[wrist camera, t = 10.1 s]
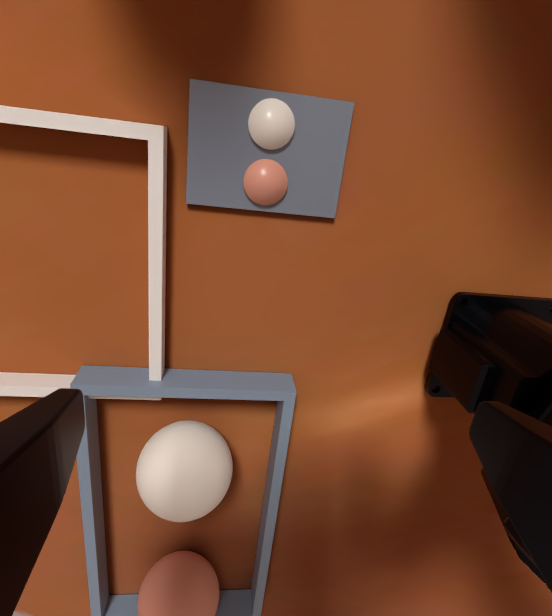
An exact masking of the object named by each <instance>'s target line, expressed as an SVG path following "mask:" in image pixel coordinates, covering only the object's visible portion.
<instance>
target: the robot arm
mask: <svg viewBox="0 0 552 616" xmlns="http://www.w3.org/2000/svg"><path fill="white" fill-rule="evenodd" d="M462 299H464V302H463V303H462V304H460V305H459V302H460V301H461V300H462ZM551 307H552V299H551V298H538V297H525V296H511V295H498V294H484V293H471V292H458V293H456V294H455V295H454V296H453V297H452V299H451V302H450V305H449V309H448V312H447V315H446V319H445V322H444V325H443V329H442V330H441V331H440V334H439V338H438V341H437V344H436V348H435V351H434V354H433V358H432V361H431V364H430V372H429V375H428V379H427V382H426V385H425V389H426V391H427V392H428V393H429V395H431V396H434V397H455V398H456V399H457V400H458V401H459V402H460V404H461V405H462V406H463V407H464V408H465V409H466V410H467V412H469V413H474V414H475V415H474V418H473V421H472V423H471V426H470V430H469V434H470V439H471V441H472V443H473V446H474V448H475V450H476V452H477V454H478V457H479V459H480V461H481V463H482V465H483V469H482V470H481V474H482V476H483V478H484V481H485V483H486V485H487V488H488V490H489V493H490V495H491V497H492V500H493V502H494V504H495V507H496V509H497V512H498V514H499V516H500V519H501V521H502V523H503V526H504V528H505V531H506V533H507V535H508V538H509V540H510V541H511V543H512V545H513V547H514V549H515V550H516V552H517V554H518V556H519V558H520V559H521V560H522V561H523V562H524V563H525V564H526V565H528V567H529V568H530V569H531V570H532V571H533V572H534V573H535V574H536V575H537V576H538V577H539V578H540V579H541V580H542V581H543V582H544V583H546V585H547V587H548V588H549V589H550V590H551V592H552V309H551V310H550V308H551ZM435 386H437V387H436V388H435V389H433V388H434V387H435ZM84 429H85V412H84V400H83V393H82V391H81V390H80V389H72V388H60V389H58V390H56V391H54V392H52V393H50V394H49V395H47V396H45V397H43V398H42V399H40V400H38V401H36V402H35V403H33V404H31V405H29V406H28V407H26V408H24V409H22V410H21V411H19V412H17V413H15V414H14V415H12V416H10V417H8V418H7V419H5V420H3V421H1V422H0V616H12V615H13V612H14V610H15V608H16V606H17V603H18V601H19V599H20V597H21V594H22V592H23V590H24V588H25V585H26V583H27V581H28V579H29V576H30V574H31V572H32V569H33V567H34V565H35V563H36V560H37V558H38V556H39V554H40V551H41V549H42V547H43V545H44V542H45V540H46V538H47V536H48V533H49V531H50V529H51V527H52V524H53V522H54V520H55V518H56V515H57V513H58V510H59V508H60V506H61V503H62V500H63V497H64V494H65V492H66V488H67V485H68V482H69V479H70V476H71V472H72V469H73V466H74V463H75V460H76V456H77V453H78V450H79V447H80V444H81V440H82V437H83V434H84Z"/></svg>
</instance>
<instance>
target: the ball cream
mask: <svg viewBox="0 0 552 616" xmlns="http://www.w3.org/2000/svg"><path fill="white" fill-rule="evenodd" d="M232 473H233V462H232V456H231V452H230V449H229V447H228V445H227V443H226V441H225V439H224V438H223V437H222V436H221V434H220V433H219V432H217V431H216V430H215V429H214V428H212V427H211V426H209V425H207V424H205V423H202V422H198V421H191V420H185V421H178V422H174V423H172V424H169V425H167V426H165V427H163V428H162V429H160V430H159V431H158V432H156V433H155V434H154V435H153V436H152V437H151V438H150V439H149V440H148V442H147V443H146V445H145V446H144V448H143V450H142V452H141V454H140V456H139V459H138V463H137V468H136V483H137V488H138V491H139V494H140V496H141V498H142V500H143V502H144V503H145V505H146V506H147V507H148V508H149V509H150V510H151V511H152V512H153V513H154V514H156V515H157V516H159V517H160V518H163V519H165V520H168V521H173V522H188V521H192V520H196V519H199V518H201V517H203V516H205V515H206V514H208V513H209V512H211V511H212V510H213V509H214V508H215V507H216V506H217V505H218V504H219V503H220V502H221V501H222V499H223V498H224V496H225V494H226V492H227V491H228V488H229V485H230V483H231V478H232Z"/></svg>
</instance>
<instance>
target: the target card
mask: <svg viewBox="0 0 552 616" xmlns="http://www.w3.org/2000/svg"><path fill="white" fill-rule="evenodd" d="M353 108H354V102H348V101H341V100H334V99H327V98H320V97H313V96H306V95H300V94H293V93H286V92H279V91H272V90H265V89H258V88H251V87H244V86H237V85H231V84H224V83H217V82H210V81H203V80H196V79H190V88H189V122H188V155H187V188H186V204H196V205H206V206H216V207H226V208H236V209H246V210H256V211H266V212H276V213H286V214H296V215H307V216H317V217H327V218H335V214H336V209H337V203H338V197H339V191H340V185H341V179H342V173H343V167H344V161H345V155H346V150H347V144H348V138H349V132H350V126H351V120H352V114H353Z"/></svg>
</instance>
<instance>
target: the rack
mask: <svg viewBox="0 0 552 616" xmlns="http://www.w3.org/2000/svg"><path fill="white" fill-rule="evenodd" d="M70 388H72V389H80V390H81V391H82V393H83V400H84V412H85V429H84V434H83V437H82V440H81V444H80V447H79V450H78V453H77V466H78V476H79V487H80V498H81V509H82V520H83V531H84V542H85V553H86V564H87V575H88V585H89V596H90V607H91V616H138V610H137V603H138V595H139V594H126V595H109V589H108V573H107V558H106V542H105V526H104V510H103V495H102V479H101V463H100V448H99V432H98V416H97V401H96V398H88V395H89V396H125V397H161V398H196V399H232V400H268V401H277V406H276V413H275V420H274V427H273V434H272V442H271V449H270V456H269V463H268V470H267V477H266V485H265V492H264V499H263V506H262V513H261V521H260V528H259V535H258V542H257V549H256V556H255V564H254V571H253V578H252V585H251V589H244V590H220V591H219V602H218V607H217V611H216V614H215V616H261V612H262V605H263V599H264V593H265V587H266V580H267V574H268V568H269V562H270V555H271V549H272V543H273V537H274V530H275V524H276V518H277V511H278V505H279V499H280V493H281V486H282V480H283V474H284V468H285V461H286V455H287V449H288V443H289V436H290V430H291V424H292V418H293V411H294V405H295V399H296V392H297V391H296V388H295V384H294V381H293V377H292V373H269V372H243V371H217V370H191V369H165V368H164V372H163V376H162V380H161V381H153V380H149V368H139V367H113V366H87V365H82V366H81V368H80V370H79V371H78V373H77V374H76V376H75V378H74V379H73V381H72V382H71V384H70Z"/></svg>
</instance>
